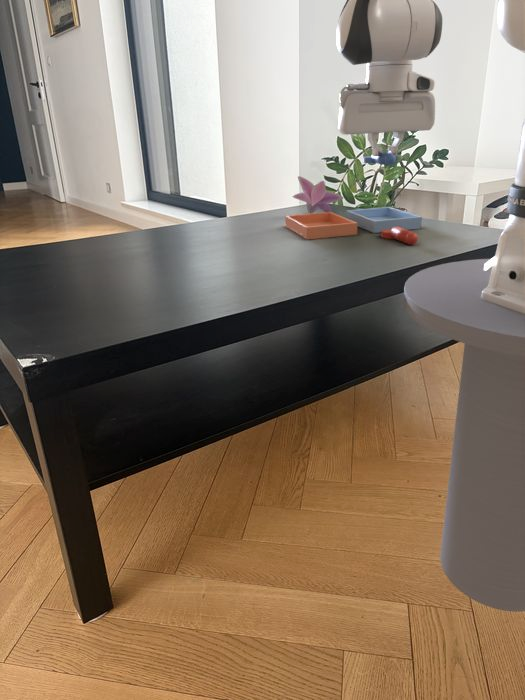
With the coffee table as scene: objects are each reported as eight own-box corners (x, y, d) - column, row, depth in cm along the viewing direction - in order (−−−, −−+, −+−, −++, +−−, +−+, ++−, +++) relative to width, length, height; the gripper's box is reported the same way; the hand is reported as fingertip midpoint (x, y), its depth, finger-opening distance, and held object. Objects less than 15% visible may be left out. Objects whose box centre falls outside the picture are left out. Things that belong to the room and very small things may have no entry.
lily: (347, 223, 133) (351, 185, 134) (309, 209, 126) (314, 169, 127) (315, 232, 143) (319, 196, 143) (278, 219, 136) (283, 182, 137)
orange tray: (357, 234, 116) (357, 222, 115) (306, 239, 113) (306, 227, 112) (330, 222, 129) (330, 211, 128) (285, 226, 127) (285, 215, 126)
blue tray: (421, 228, 119) (422, 216, 118) (373, 233, 117) (374, 221, 116) (389, 217, 133) (389, 206, 132) (345, 221, 130) (346, 210, 129)
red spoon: (423, 245, 105) (424, 232, 104) (404, 247, 104) (405, 234, 103) (395, 234, 115) (396, 222, 114) (377, 235, 114) (378, 224, 113)
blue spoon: (401, 165, 113) (401, 152, 112) (383, 166, 112) (384, 154, 111) (376, 161, 123) (377, 149, 122) (360, 162, 122) (360, 151, 121)
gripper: (346, 83, 104) (344, 160, 110) (442, 80, 109) (435, 154, 114) (333, 85, 110) (332, 157, 115) (425, 82, 115) (420, 152, 120)
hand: (384, 156), depth 115 cm, fingers closed on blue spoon, 2 cm apart
